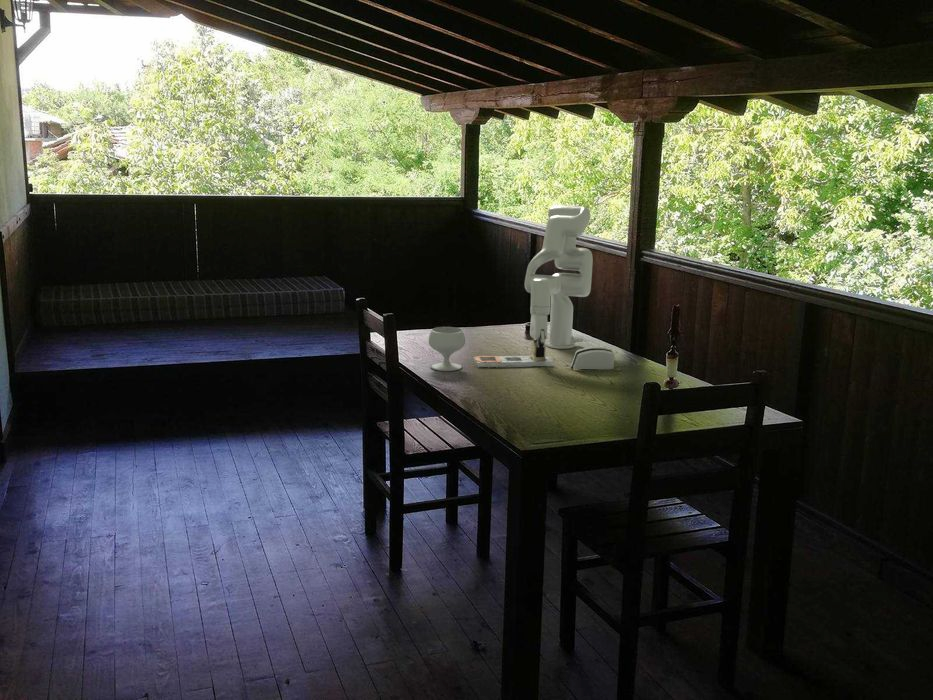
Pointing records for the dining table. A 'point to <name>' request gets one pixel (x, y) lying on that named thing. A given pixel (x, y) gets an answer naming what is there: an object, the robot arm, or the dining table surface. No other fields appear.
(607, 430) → the dining table surface
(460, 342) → the chalice
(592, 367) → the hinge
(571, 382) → the dining table surface
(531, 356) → the peg
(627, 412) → the dining table surface
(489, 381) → the dining table surface
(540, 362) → the rail
